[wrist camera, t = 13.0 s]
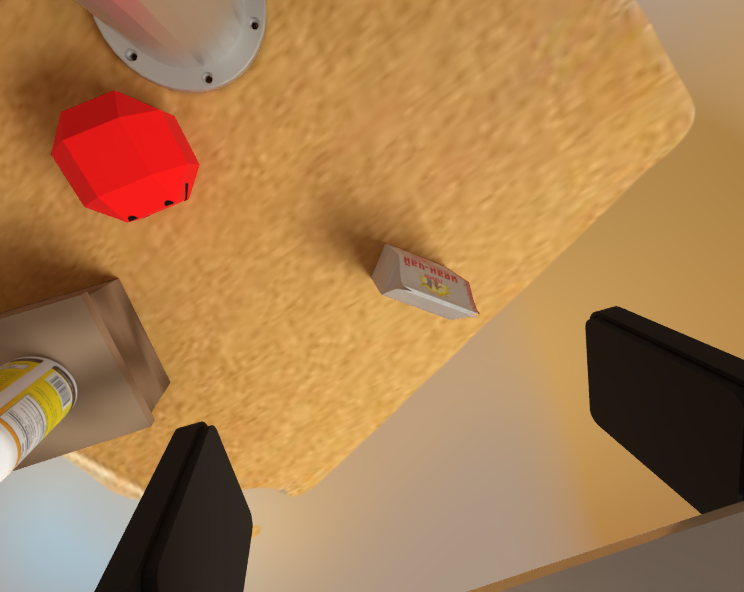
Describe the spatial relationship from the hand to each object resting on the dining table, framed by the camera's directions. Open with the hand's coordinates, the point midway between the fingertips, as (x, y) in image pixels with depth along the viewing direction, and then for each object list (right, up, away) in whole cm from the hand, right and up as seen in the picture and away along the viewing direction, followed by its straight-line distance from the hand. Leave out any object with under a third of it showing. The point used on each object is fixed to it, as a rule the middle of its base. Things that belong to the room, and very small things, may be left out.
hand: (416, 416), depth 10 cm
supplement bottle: (-26, -4, +21) cm, 34 cm away
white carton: (+3, +5, +31) cm, 31 cm away
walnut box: (-27, -2, +28) cm, 39 cm away
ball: (-20, +14, +24) cm, 34 cm away
